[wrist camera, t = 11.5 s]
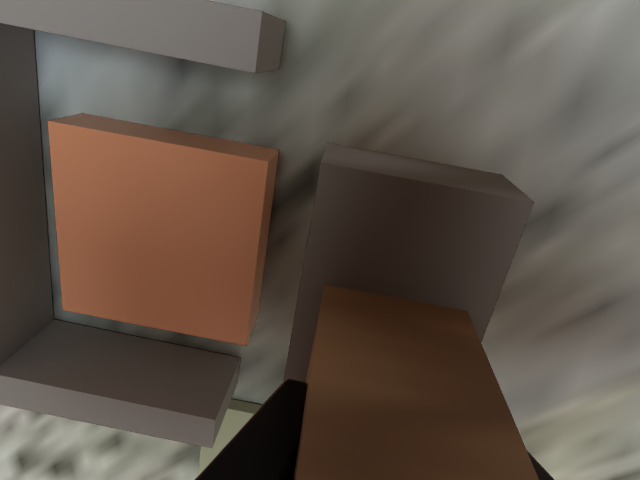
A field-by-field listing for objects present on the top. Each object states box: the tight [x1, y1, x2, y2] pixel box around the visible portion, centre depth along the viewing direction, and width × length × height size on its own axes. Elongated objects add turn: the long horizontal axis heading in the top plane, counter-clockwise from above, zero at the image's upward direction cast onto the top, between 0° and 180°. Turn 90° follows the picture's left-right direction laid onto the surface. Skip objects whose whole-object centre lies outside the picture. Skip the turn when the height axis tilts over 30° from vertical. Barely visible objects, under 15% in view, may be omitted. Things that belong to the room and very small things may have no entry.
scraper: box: [283, 143, 539, 480], centre depth 8 cm, size 4×8×8 cm, turn 170°
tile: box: [48, 113, 279, 346], centre depth 14 cm, size 6×6×2 cm
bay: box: [0, 0, 286, 448], centre depth 13 cm, size 8×12×3 cm, turn 170°
